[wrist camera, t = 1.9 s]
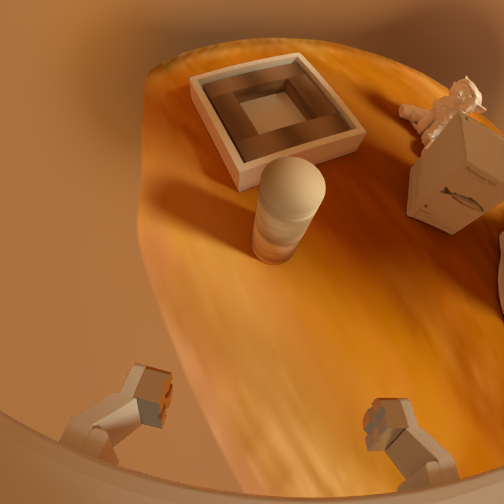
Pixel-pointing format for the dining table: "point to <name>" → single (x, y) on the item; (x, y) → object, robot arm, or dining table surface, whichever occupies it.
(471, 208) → the supplement box
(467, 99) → the seated beast figurine
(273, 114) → the open box
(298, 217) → the birch peg
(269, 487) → the dining table surface
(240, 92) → the bore plate
